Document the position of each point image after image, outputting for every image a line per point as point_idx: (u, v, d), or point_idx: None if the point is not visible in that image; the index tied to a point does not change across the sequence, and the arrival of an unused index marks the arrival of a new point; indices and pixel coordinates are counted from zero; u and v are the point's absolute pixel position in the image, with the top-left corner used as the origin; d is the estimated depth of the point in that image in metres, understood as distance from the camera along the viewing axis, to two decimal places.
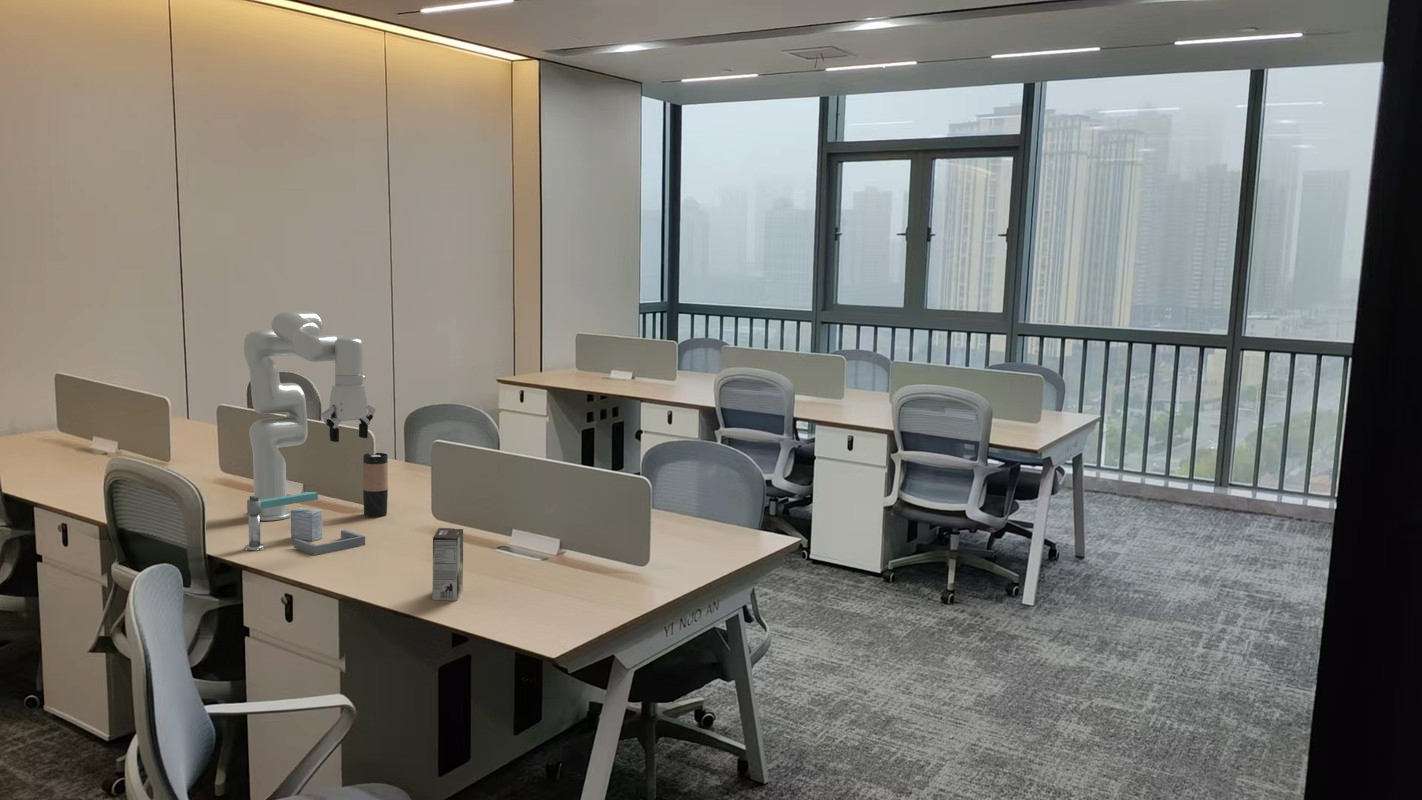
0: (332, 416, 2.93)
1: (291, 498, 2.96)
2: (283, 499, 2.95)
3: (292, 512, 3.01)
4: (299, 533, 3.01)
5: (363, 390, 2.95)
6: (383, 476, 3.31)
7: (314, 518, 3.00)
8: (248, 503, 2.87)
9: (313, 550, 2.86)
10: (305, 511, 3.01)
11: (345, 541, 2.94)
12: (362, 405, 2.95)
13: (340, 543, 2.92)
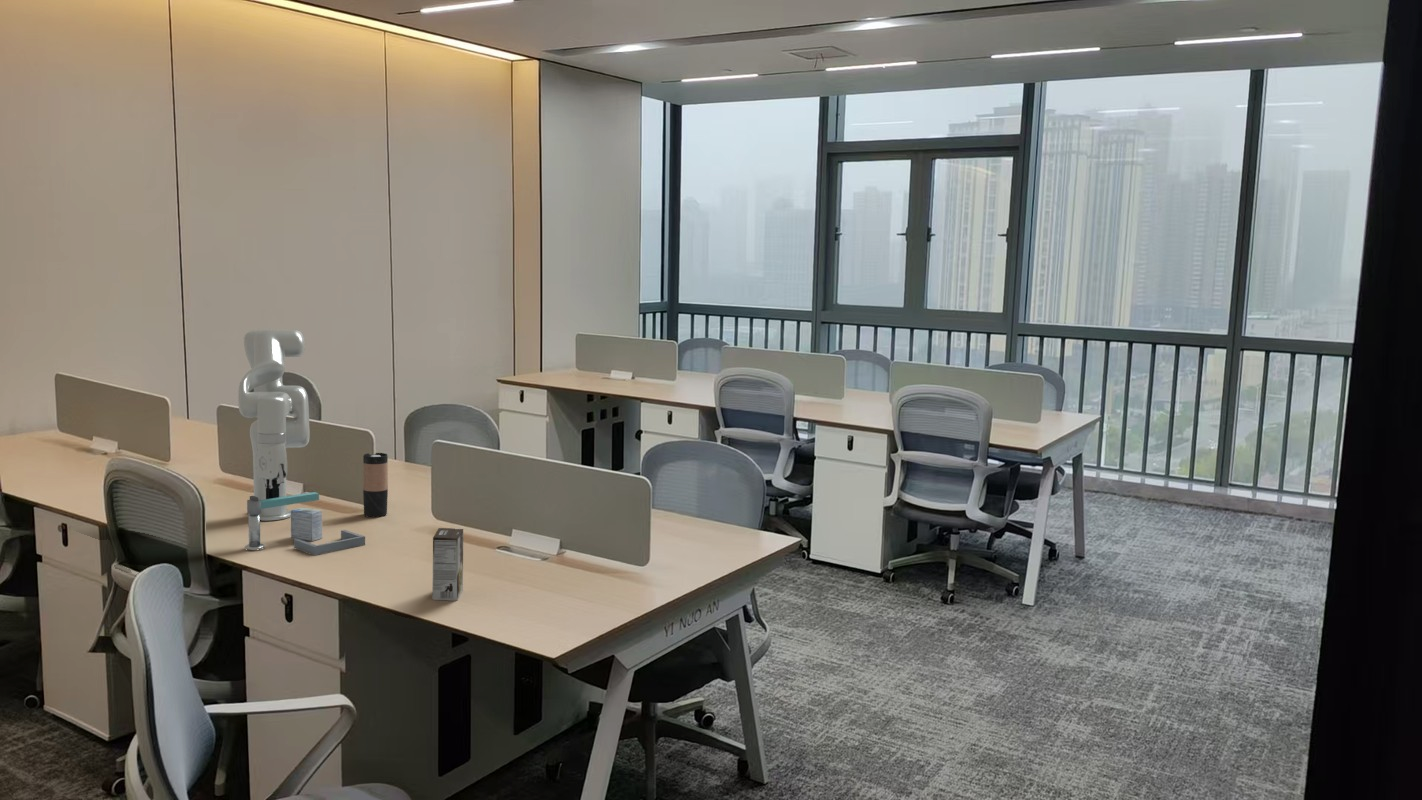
0: (269, 477, 2.91)
1: (292, 498, 2.96)
2: (283, 499, 2.94)
3: (292, 512, 3.01)
4: (299, 533, 3.01)
5: None
6: (383, 476, 3.31)
7: (314, 518, 3.00)
8: (248, 503, 2.87)
9: (313, 550, 2.86)
10: (305, 511, 3.01)
11: (345, 541, 2.94)
12: None
13: (340, 543, 2.92)
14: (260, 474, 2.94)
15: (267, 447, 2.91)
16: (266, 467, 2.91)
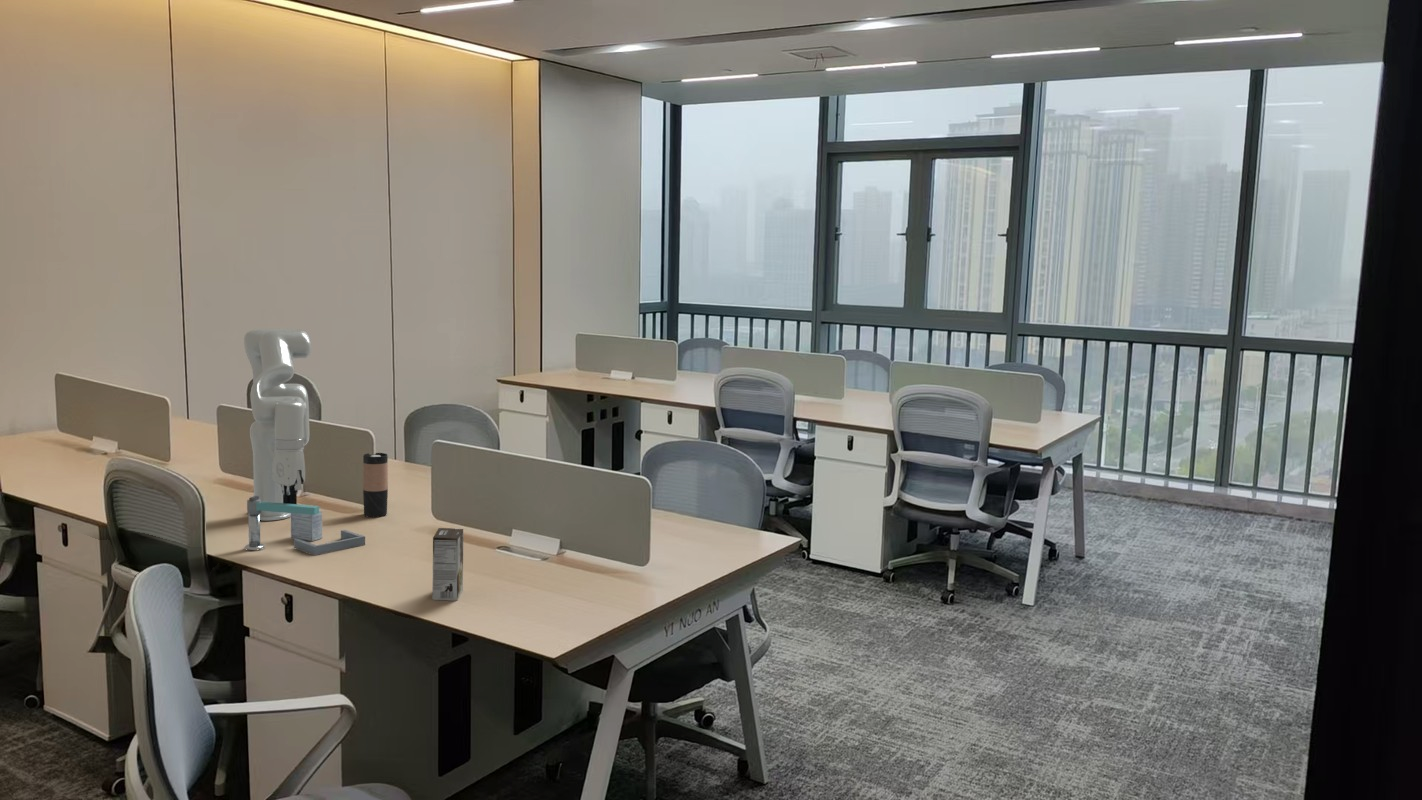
0: (287, 483, 2.85)
1: (286, 507, 2.86)
2: (278, 506, 2.86)
3: None
4: (299, 533, 3.01)
5: None
6: (383, 476, 3.31)
7: (314, 518, 3.00)
8: None
9: (313, 550, 2.86)
10: None
11: (345, 541, 2.94)
12: None
13: (340, 543, 2.92)
14: (277, 480, 2.88)
15: (284, 453, 2.85)
16: (284, 473, 2.86)
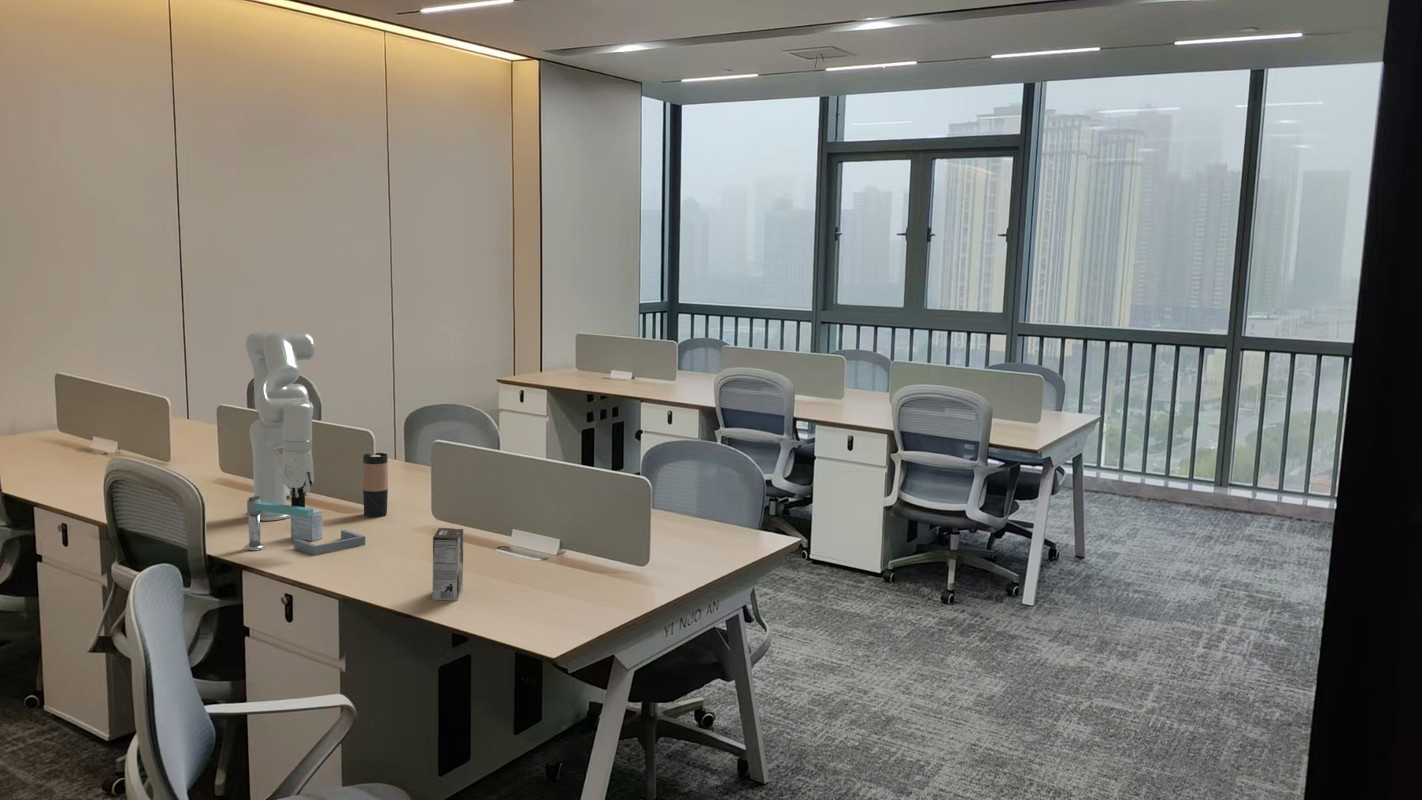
0: (295, 485, 2.83)
1: (282, 508, 2.85)
2: (275, 507, 2.85)
3: None
4: (299, 533, 3.01)
5: None
6: (383, 476, 3.31)
7: (314, 518, 3.00)
8: None
9: (313, 550, 2.86)
10: None
11: (345, 541, 2.94)
12: None
13: (340, 543, 2.92)
14: (285, 483, 2.86)
15: (293, 455, 2.83)
16: (292, 475, 2.83)
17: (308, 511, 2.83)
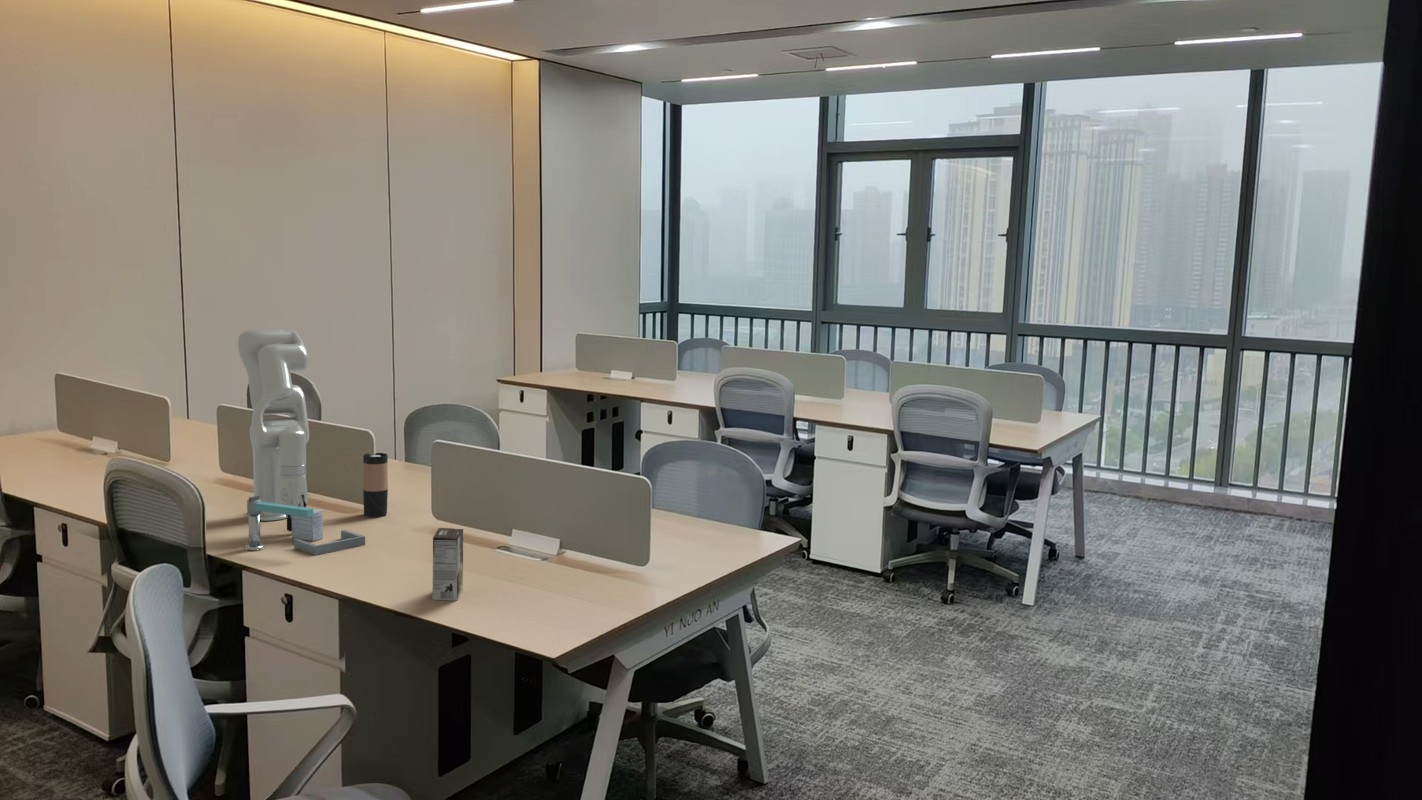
0: None
1: (282, 508, 2.85)
2: (274, 507, 2.85)
3: None
4: (299, 533, 3.01)
5: None
6: (383, 476, 3.31)
7: (315, 518, 3.00)
8: None
9: (313, 550, 2.86)
10: None
11: (345, 541, 2.94)
12: None
13: (340, 543, 2.92)
14: None
15: (288, 479, 3.02)
16: (287, 498, 3.03)
17: (308, 511, 2.83)
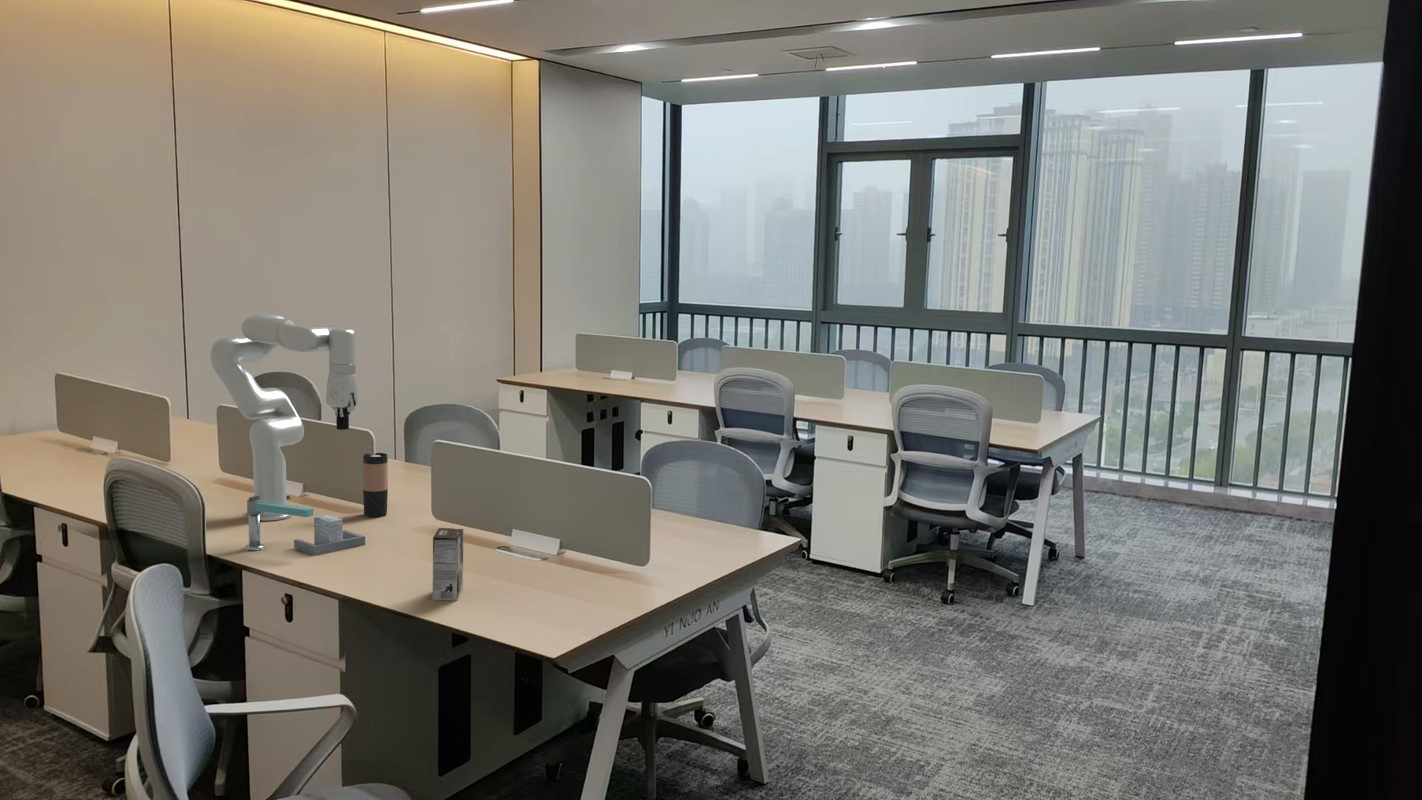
0: (341, 405, 3.07)
1: (282, 508, 2.85)
2: (274, 507, 2.85)
3: (315, 519, 2.94)
4: (320, 541, 2.94)
5: None
6: (383, 476, 3.31)
7: (332, 527, 2.91)
8: None
9: (313, 550, 2.86)
10: (326, 519, 2.93)
11: (345, 541, 2.94)
12: None
13: (340, 543, 2.92)
14: (331, 403, 3.10)
15: (338, 377, 3.07)
16: (338, 396, 3.07)
17: (308, 511, 2.83)
